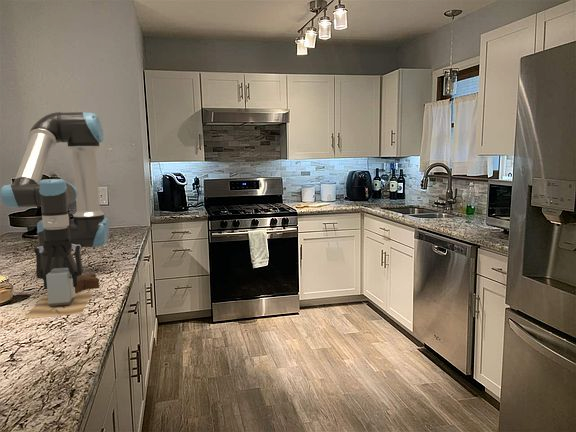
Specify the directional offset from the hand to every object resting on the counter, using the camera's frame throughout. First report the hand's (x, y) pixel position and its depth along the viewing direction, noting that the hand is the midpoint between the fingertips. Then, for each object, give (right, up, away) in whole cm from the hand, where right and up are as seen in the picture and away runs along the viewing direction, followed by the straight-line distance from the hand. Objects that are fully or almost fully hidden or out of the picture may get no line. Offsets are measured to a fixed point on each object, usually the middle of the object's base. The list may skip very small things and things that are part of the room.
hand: (62, 297), depth 149 cm
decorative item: (-3, 0, +18) cm, 18 cm away
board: (+1, -3, -2) cm, 3 cm away
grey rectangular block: (0, -1, 0) cm, 1 cm away
